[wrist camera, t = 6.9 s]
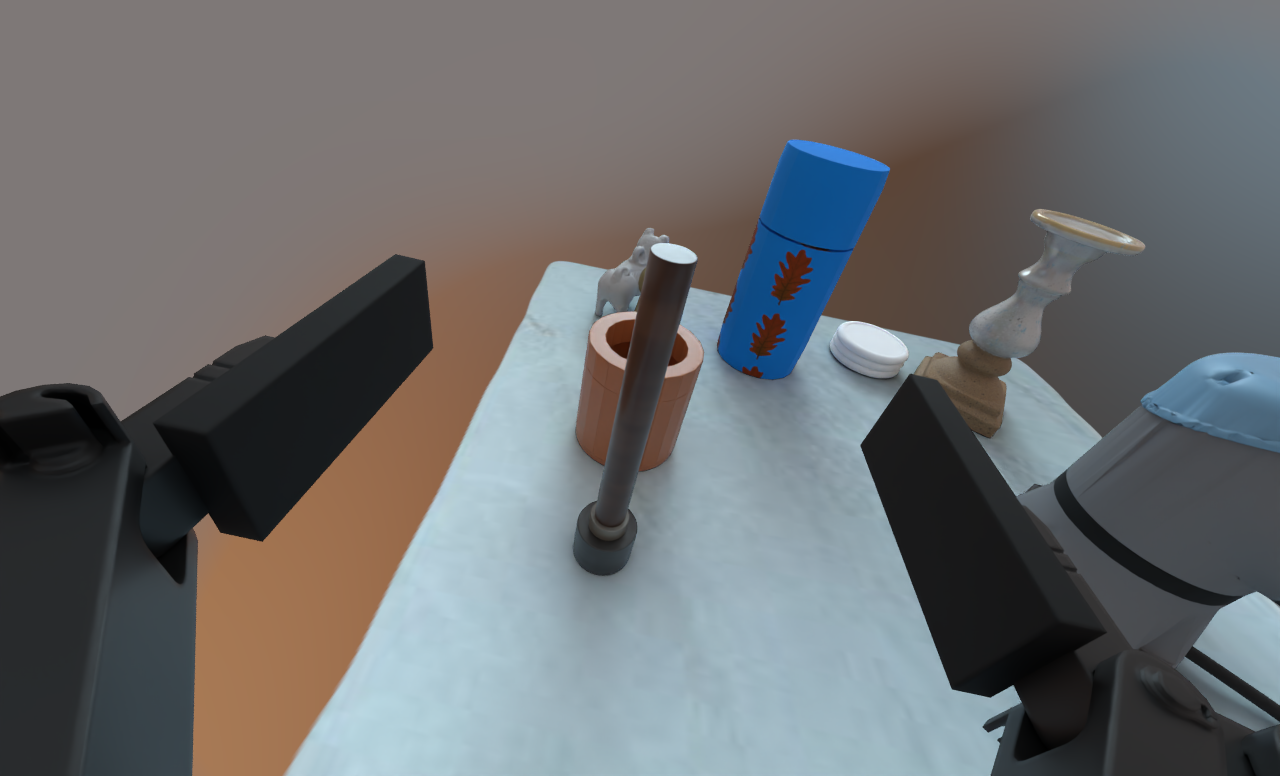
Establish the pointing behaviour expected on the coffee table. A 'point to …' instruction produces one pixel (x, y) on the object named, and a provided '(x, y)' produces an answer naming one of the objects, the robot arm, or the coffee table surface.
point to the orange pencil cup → (606, 379)
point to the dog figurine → (626, 276)
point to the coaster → (868, 349)
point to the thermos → (797, 254)
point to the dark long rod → (635, 410)
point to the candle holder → (1019, 318)
